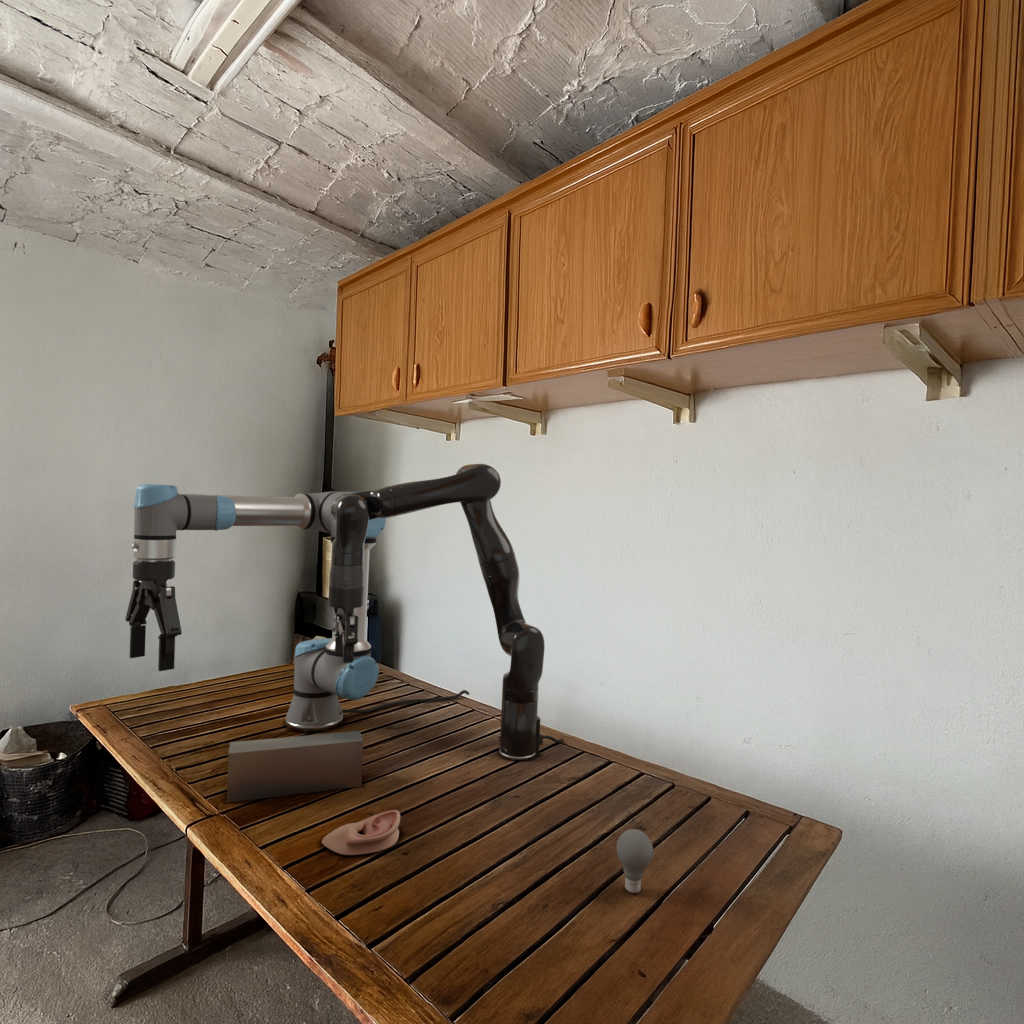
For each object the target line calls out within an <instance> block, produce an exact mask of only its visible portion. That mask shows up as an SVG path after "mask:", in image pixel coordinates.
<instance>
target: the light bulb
mask: <svg viewBox="0 0 1024 1024" xmlns="http://www.w3.org/2000/svg"><path fill="white" fill-rule="evenodd" d="M615 849H616V854H617V857H618V859H619V861H620V863H621V865H622V867H623V873H624V874H623V875H624V876H625V878H624V888H625V890H627V891H628V892H630V893H634V894H635V893H639V892H640V891H641V889H642V887H641V886H642V879H643V877H644V875H645V871H646V868H647V867H648V866H649V864H650V863H651V861H652V859H653V855H654V847H653V843H652V841H651V838H649V836H648V835H647V834H646V833H645V832H643V831H642V830H641V829H636V828H629V829H627V830H625V831H623V832H622V833H621V834H620V835H619V837H618V839H617V841H616V847H615Z"/></svg>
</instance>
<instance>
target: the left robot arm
mask: <svg viewBox="0 0 1024 1024" xmlns="http://www.w3.org/2000/svg"><path fill="white" fill-rule="evenodd" d="M356 492H357V491H337V490H336V491H335V490H333V491H324V492H322V491H321V492H314V493H312V492H311V493H297V494H295V495H294V496H268V495H266V496H265V495H235V494H233V495H232V494H230V495H229V494H197V493H179V491H178V486H176V485H175V484H155V483H152V484H151V483H141V484H138V486H137V487H136V490H135V494H134V504H133V509H134V511H133V513H134V515H133V521H134V522H133V523H134V524H133V526H134V527H133V543H132V544H131V545H130V547H131V549H133V555H132V556H133V558H134V559H135V560H134V561H133V562H132V579H133V582H132V591H131V595H130V598H129V602H128V606H127V611H126V616H125V620H124V621H125V622H126V623H127V622H128V626H129V630H130V631H129V658H130V659H137V658H141V657H142V658H143V657H145V656H146V634H147V633H146V631H147V624H148V623H147V620H146V619H147V617H148V615H149V613H150V610H152V611H153V612H154V615H155V618H156V622H157V625H158V628H159V631H160V634H159V635H158V637H157V638H158V663H157V665H158V666H157V670H158V672H163V671H170V670H174V669H175V657H176V656H175V655H176V637H178V636H181V635H182V633H183V632H182V627H181V622H180V615H179V610H178V604H177V600H176V587H175V586H174V585H172V586H168V583H167V581H168V580H173V579H174V578H175V576H176V561H174V560H173V559H175V558H176V556H177V531H215V532H217V531H224V530H229V529H230V528H232V527H292V526H293V527H294V528H295V529H296V530H308V531H309V530H310V531H317V532H322V533H327V534H330V544H331V545H332V544H333V541H334V539H335V538H336V525H337V522H336V521H335V520H334V519H333V517H332V515H331V505H332V503H333V501H334V500H335V499H336V498H337V497H339V496H341V495H344V494H349V493H356ZM386 522H387V518H375V519H371V520H369V522H368V528H367V533H366V538H365V542H364V564H363V565H364V602H363V605H362V606H361V607H358V608H357V607H356V608H354V615H356V616H358V642H357V644H355V645H354V661H353V662H352V663H344V662H343V654H336V653H335V637H336V636H334V632H333V631H332V633H331V634H332V636H331V638H332V639H330V638H328V639H316V640H313V639H308V640H304V641H300V642H299V643H297V645H296V646H295V650H294V655H293V657H294V672H293V673H294V674H293V695H292V696H293V697H292V699H291V702H290V704H289V708H288V711H287V713H286V715H285V726H286V728H287V729H289V730H291V731H294V732H295V731H296V732H301V733H316V732H325V731H329V730H332V729H335V728H337V727H339V726H340V725H342V723H343V722H344V714H353V713H354V714H365V713H371V712H375V711H378V710H380V709H383V708H388V707H392V706H397V705H404V704H410V703H412V704H413V703H425V702H426V703H427V702H439V701H449V700H450V701H451V700H454V699H458V698H459V697H461V696H462V695H463V694H466V695H467V696H468V695H471V694H470V692H469V691H468V690H465V689H464V690H461V691H460V692H458V693H457V694H454V695H450V696H439V697H428V698H427V697H426V698H412V699H403V700H397V701H392V702H391V701H390V702H386V703H382V704H379V705H376V706H374V707H370V708H365V709H357V708H354V709H353V708H352V709H350V708H349V709H347V708H345V709H343V708H342V706H341V702H340V699H339V698H341V699H344V700H348V701H349V700H350V701H357V700H360V699H363V698H364V697H365V696H367V695H368V694H370V692H371V690H373V689H374V687H375V685H376V684H377V682H378V678H379V674H380V670H379V669H380V668H379V665H378V662H376V660H375V659H374V657H372V656H371V655H372V653H371V652H372V644H371V643H370V642H369V641H368V640H367V637H366V636H367V617H368V615H367V614H368V595H369V594H368V593H369V572H370V551H371V549H372V548H373V547H375V545H376V544H377V537H378V536H379V535H380V534H381V533H382V531H383V530H384V528H385V526H386ZM332 611H333V614H332V616H333V617H332V619H333V618H334V610H332ZM348 639H352V637H351V636H348Z"/></svg>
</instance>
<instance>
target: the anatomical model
mask: <svg viewBox="0 0 1024 1024" xmlns="http://www.w3.org/2000/svg"><path fill="white" fill-rule="evenodd" d="M400 823H401V813H400V811H399V810H397V809H392V810H391V809H390V810H387V811H383V812H380V813H377V814H373V815H371V816H369V817H367V818H365V819H362V820H360V821H356V822H349V823H346V824H344V825H341V826H339V827H337V828H335V829H334V830H332V831H331V832H329V833H328V834H326V835H325V836H324V837H323V838H322V840H321V844H322V845H323V846H324V847H325V848H327V849H328V850H330V851H332V852H334V853H337V854H339V855H342V856H356V855H357V856H358V855H366V854H371V853H378V852H382V851H383V850H386V849H388V848H390V847H392V846H394V845H395V844H396V843H397V842H398V840H399V836H400V830H399V827H400Z"/></svg>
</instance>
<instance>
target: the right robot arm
mask: <svg viewBox="0 0 1024 1024" xmlns="http://www.w3.org/2000/svg"><path fill="white" fill-rule="evenodd" d="M501 486H502V480H501V475H500V474H499V472H498V471H497V469H496V468H494V467H493V466H491V465H488V464H486V463H470V464H466V465H463V466H461V467H459V468H458V470H457V471H456V473H455V474H452V475H448V476H444V477H440V478H439V477H438V478H433V479H432V478H431V479H425V480H424V479H423V480H415V481H409V482H402V483H398V484H392V485H388V486H383V487H380V488H376V489H372V490H364V491H355V492H356V493H349V494H344V495H341V496H339V497H337V498H336V499H335V500H334V501H333V503H332V505H331V515H332V517H333V519H334V520H335V521H336V522H337V525H336V538H335V539H334V541H333V544H332V543H331V556H330V569H329V576H328V599H327V600H328V603H327V604H328V606H329V607H331V608H333V611H334V618H333V617H332V633H333V632H334V636H336V637H335V653H336V654H343V662H344V663H352V662H353V661H354V645H355V644H357V642H358V616H356V615H354V608H356V607H357V608H358V607H361V606H362V605H363V602H364V565H363V564H364V542H365V538H366V533H367V528H368V522H369V520H371V519H375V518H386V519H388V518H394V517H398V516H403V515H407V514H411V513H415V512H419V511H424V510H427V509H431V508H434V507H435V508H436V507H438V506H444V505H449V504H455V503H460V505H461V508H462V511H463V513H464V515H465V518H466V521H467V524H468V527H469V530H470V535H471V539H472V542H473V545H474V549H475V552H476V553H475V554H476V556H477V560H478V561H477V562H478V564H479V567H480V571H481V575H482V578H483V581H484V583H485V587H486V591H487V594H488V597H489V600H490V603H491V606H492V609H493V614H494V619H495V625H496V631H497V637H498V641H499V645H500V647H501V649H502V651H503V653H505V654H506V655H508V656H509V657H510V664H509V665H510V667H509V671H507V672H505V673H504V674H503V676H502V687H501V710H500V732H499V733H500V734H499V736H498V743H499V749H498V754H499V755H500V756H501V757H503V758H504V759H507V760H511V761H527V760H531V759H533V758H535V757H537V756H539V755H540V746H543V745H544V739H545V740H551V741H552V742H554V743H556V744H561V743H563V742H564V738H560V739H557V738H555V737H553V736H551V735H545V734H542V733H541V717H540V716H539V715H538V712H539V711H538V710H539V688H540V685H539V684H540V681H541V678H542V676H543V672H544V671H543V670H544V662H545V661H544V660H545V651H546V650H545V649H546V648H545V645H546V644H545V637H544V634H543V633H542V631H541V630H540V629H539V628H537V626H534V625H532V624H530V623H529V624H528V623H527V622H526V619H525V617H524V615H523V611H522V608H521V604H520V600H519V587H520V576H521V575H520V568H519V564H518V560H517V557H516V553H515V550H514V549H515V548H514V547H513V545H512V543H511V540H510V539H509V537H508V536H507V533H506V532H505V531H504V529H503V527H502V526H501V524H500V522H499V521H498V519H497V517H496V514H495V512H494V508H493V505H492V501H491V500H492V499H493V498H495V497H496V496H497V494H498V493H499V491H500V489H501ZM348 636H351V637H352V639H348Z"/></svg>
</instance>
